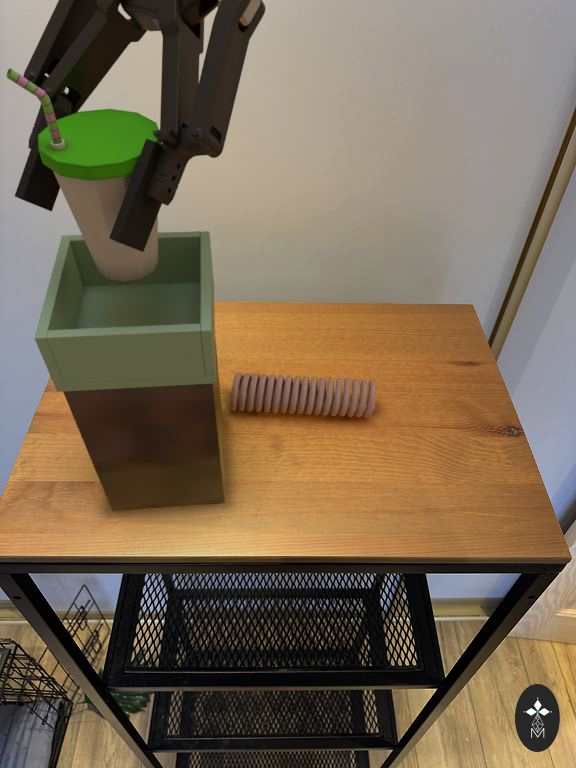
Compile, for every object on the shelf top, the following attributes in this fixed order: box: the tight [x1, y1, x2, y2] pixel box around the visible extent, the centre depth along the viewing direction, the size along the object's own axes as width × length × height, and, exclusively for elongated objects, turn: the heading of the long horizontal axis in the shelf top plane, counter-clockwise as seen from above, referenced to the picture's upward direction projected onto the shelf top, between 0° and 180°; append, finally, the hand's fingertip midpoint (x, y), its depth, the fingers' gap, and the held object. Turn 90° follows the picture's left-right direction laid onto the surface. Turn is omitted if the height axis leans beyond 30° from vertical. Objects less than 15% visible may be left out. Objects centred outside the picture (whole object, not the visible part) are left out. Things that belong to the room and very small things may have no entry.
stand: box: [62, 338, 226, 511], centre depth 58 cm, size 12×12×20 cm
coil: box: [229, 372, 377, 419], centre depth 69 cm, size 5×5×18 cm
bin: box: [34, 230, 217, 393], centre depth 48 cm, size 13×13×6 cm
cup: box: [6, 68, 162, 283], centre depth 39 cm, size 8×8×15 cm
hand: (78, 223), depth 38 cm, fingers closed on cup, 8 cm apart
